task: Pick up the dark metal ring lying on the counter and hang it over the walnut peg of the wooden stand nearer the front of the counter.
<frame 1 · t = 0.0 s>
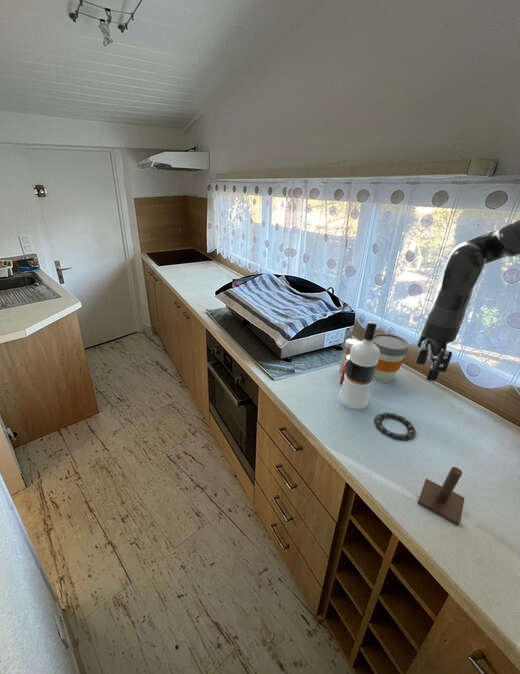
hand: (425, 371, 88), 18 cm above the worktop, tool pointing down, fingers open, 8 cm apart
vodka: (352, 402, 104), on the worktop
sprinkles bottle: (345, 371, 120), on the worktop
reusable coffee cup: (379, 375, 118), on the worktop
ring: (394, 426, 92), point 1 cm above the worktop
post: (440, 501, 72), on the worktop
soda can: (346, 386, 112), on the worktop
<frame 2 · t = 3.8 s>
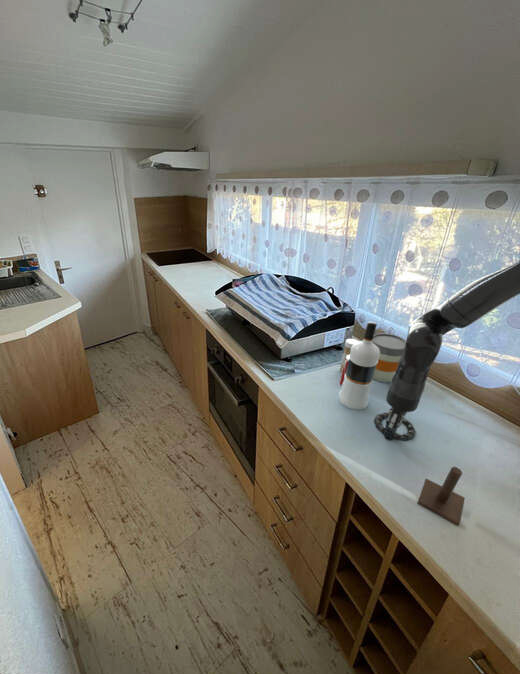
hand: (389, 436, 90), 0 cm above the worktop, tool pointing down, fingers closed on ring, 2 cm apart
ring: (394, 426, 92), point 1 cm above the worktop, touching gripper
everything else where it was.
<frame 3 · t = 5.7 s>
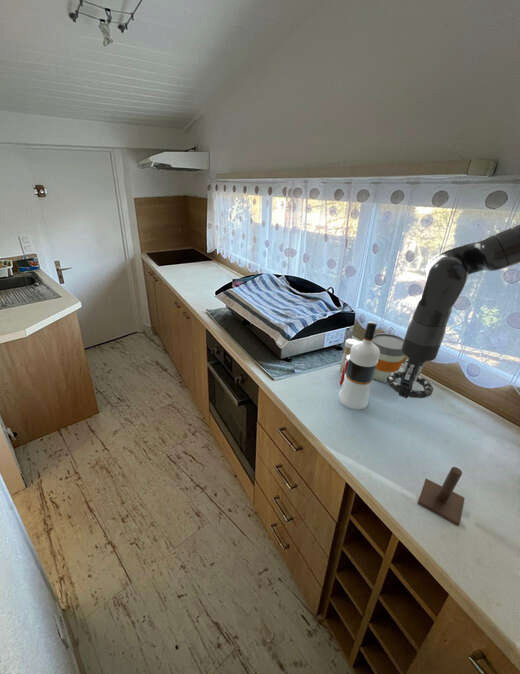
hand: (404, 393, 82), 16 cm above the worktop, tool pointing down, fingers closed on ring
ring: (409, 384, 85), point 17 cm above the worktop, touching gripper
everything else where it was.
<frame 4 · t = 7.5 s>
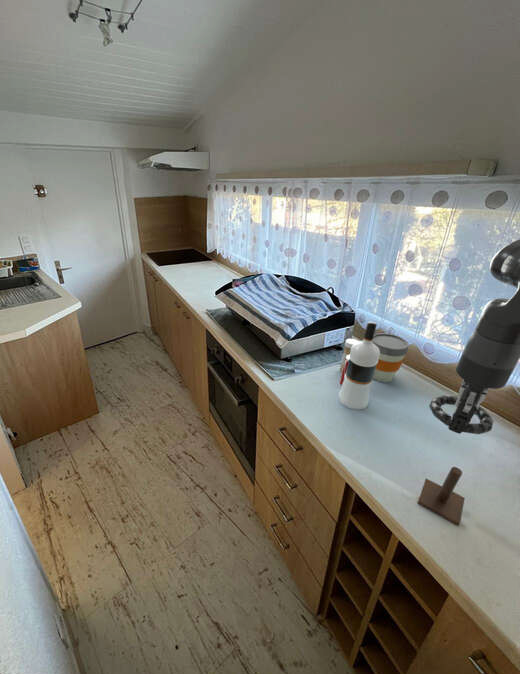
hand: (455, 427, 63), 22 cm above the worktop, tool pointing down, fingers closed on ring
ring: (460, 413, 66), point 23 cm above the worktop, touching gripper
everything else where it was.
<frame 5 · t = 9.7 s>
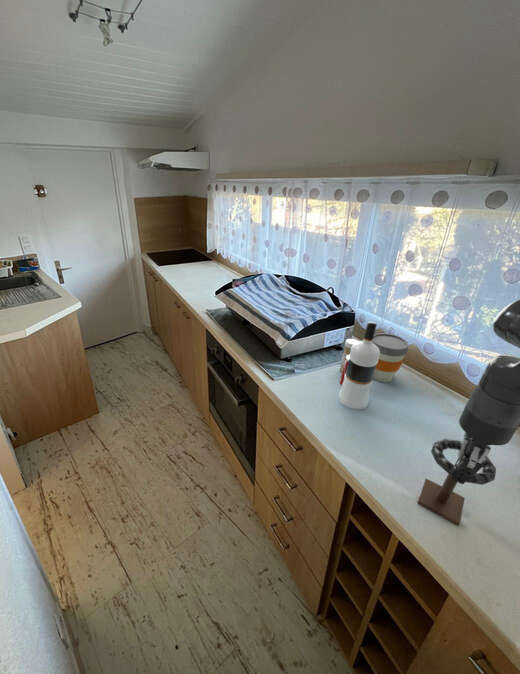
hand: (458, 475, 63), 14 cm above the worktop, tool pointing down, fingers closed on ring
ring: (462, 460, 65), point 14 cm above the worktop, touching gripper
everything else where it was.
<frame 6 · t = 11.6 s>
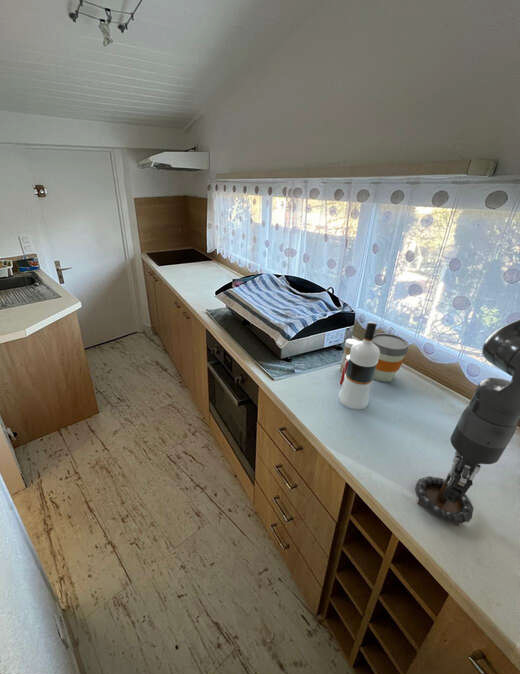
hand: (450, 490, 65), 9 cm above the worktop, tool pointing down, fingers open, 4 cm apart
ring: (443, 498, 71), point 2 cm above the worktop, touching post
everything else where it was.
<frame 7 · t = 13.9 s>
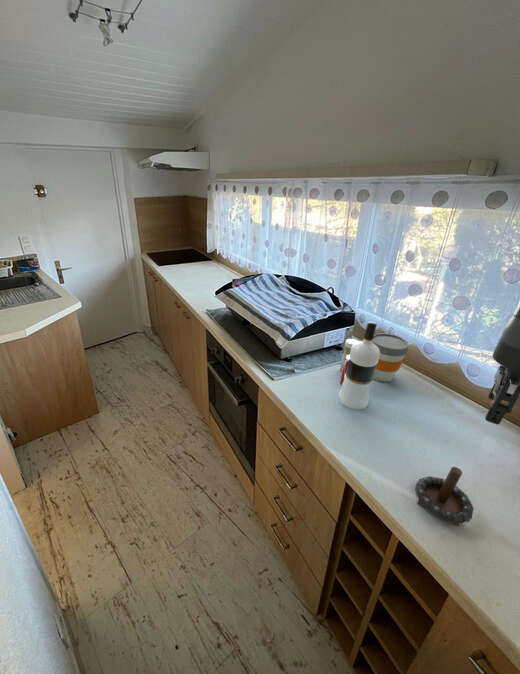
hand: (493, 410, 63), 26 cm above the worktop, tool pointing down, fingers open, 8 cm apart
nothing on the worktop moved.
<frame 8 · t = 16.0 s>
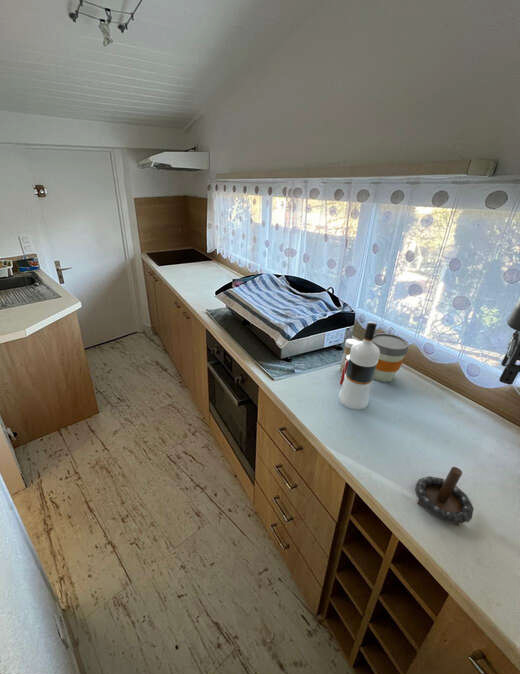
hand: (505, 374, 70), 28 cm above the worktop, tool pointing down, fingers open, 8 cm apart
nothing on the worktop moved.
at the end: ring 0.5 cm off-centre on the post, point 2.0 cm above the post's base; the gripper is holding nothing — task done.
